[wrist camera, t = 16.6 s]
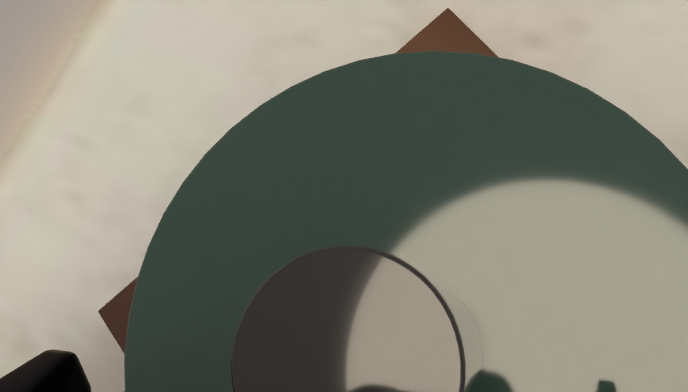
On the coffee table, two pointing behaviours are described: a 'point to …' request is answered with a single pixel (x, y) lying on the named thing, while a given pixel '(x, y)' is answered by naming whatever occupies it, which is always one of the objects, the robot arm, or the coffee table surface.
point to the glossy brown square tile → (434, 37)
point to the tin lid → (421, 242)
